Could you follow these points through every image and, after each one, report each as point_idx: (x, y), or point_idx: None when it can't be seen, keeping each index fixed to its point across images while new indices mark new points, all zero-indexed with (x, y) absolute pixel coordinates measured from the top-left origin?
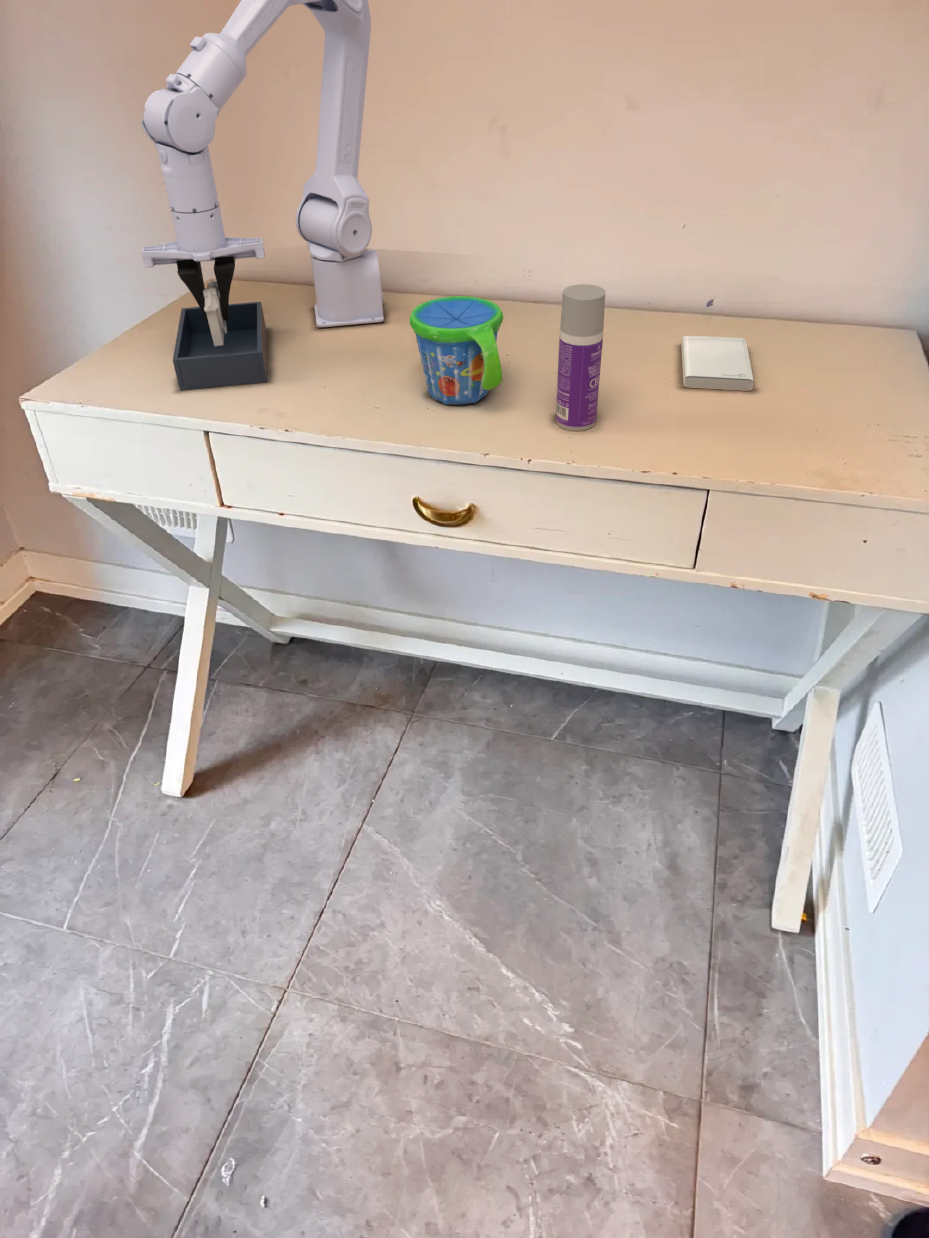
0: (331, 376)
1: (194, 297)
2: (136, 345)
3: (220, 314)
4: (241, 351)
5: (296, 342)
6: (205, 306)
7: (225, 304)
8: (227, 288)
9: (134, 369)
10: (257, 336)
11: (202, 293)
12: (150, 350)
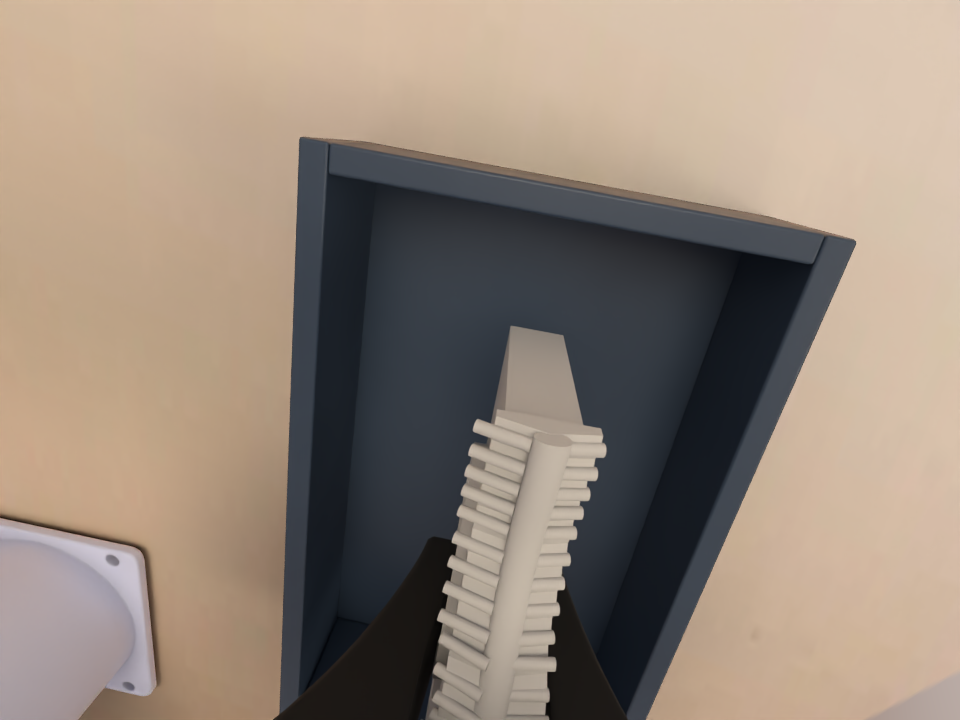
0: (72, 87)
1: (620, 707)
2: (793, 686)
3: (467, 502)
4: (432, 464)
5: (223, 478)
6: (571, 530)
7: (410, 599)
8: (333, 690)
9: (877, 510)
10: (312, 372)
11: (553, 714)
12: (759, 632)
